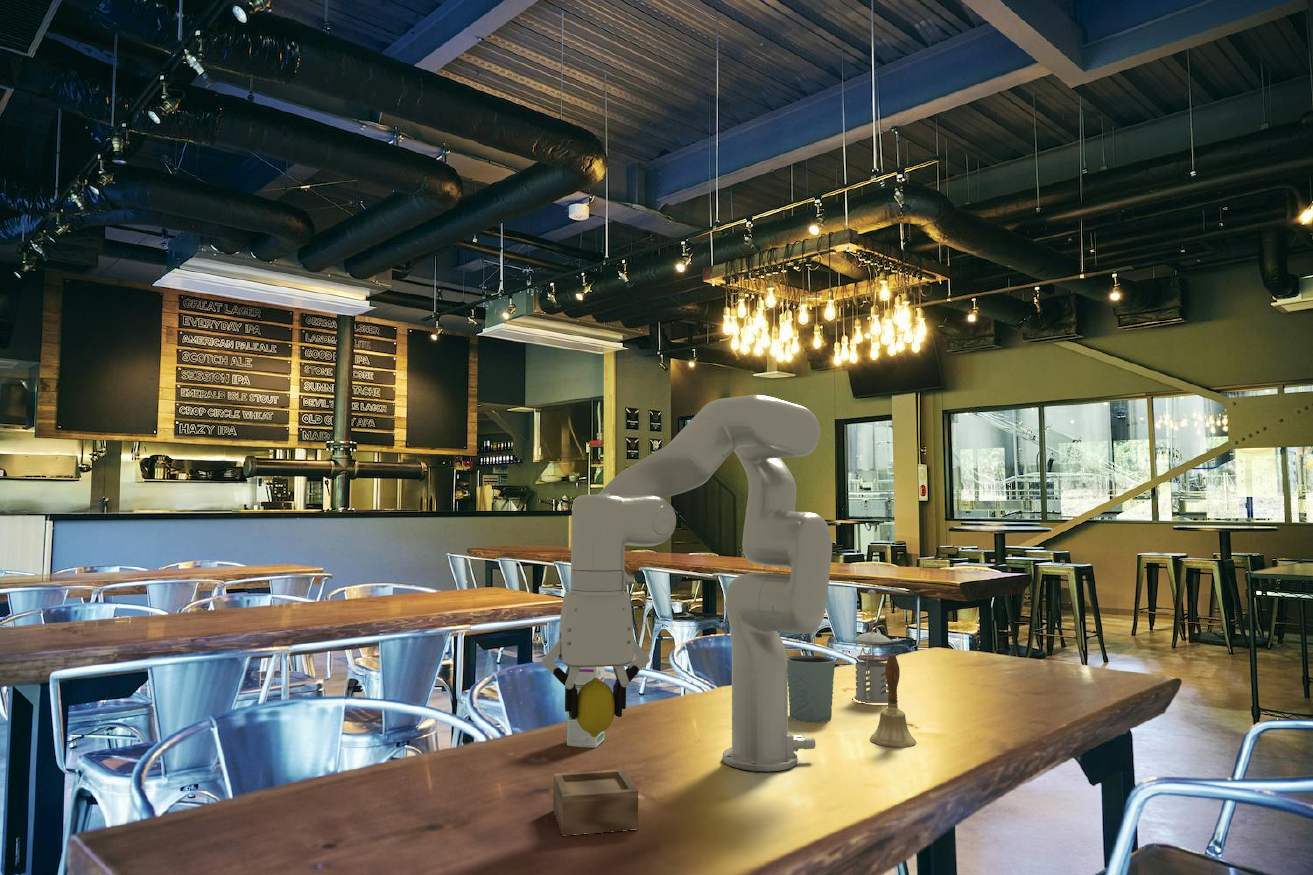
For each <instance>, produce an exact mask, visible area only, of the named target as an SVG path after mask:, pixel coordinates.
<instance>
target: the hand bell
mask: <svg viewBox="0 0 1313 875" xmlns="http://www.w3.org/2000/svg"><path fill="white" fill-rule="evenodd" d="M887 657H888V660H887V661H886V662H885V663H886V668H885V675H886V681H887V684H888V685H887V684H886V685H887V686H888V690H887V692H888V705H887V708H884V709H882V710H880V713H879V714H880V716H879V722H878V725H877V728H876V730H875V732H873V734H871V736H870V738H869V740H870V742H872V743H874V744H876V745H880V746H884V747H888V748H910V747H914V746H916V745H917V741H916V739H915V738H914V736H912V734H911V732H910V731H909V728H908V724H907V719H906V718H907V717H906V714H905V712H904V711H902V710H901V709H899V708H898V685H899V682H900V676H901V674H900V672H901V671H900V665H899V661H898V659H897V655H896V653H888V656H887Z"/></svg>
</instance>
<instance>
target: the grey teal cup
mask: <svg viewBox="0 0 1313 875" xmlns="http://www.w3.org/2000/svg"><path fill="white" fill-rule="evenodd" d="M787 664H788V668H787V681H788V706H789V717H790V718H791V717H792V718H794V719H796V720H795V721H798V720H800V721H799V722H803V721H805V722H806V723H824V722H823V721H825V722H828V721H827V720H829V721H831V719H832V714H833V712H832V711H833V709H832V706H833V700H834V698H833V694H834V692H833V690H834V678H835V677H834V676H835V668H836V666H835V665H836V659H835V658H831V657H827V656H822V655H821V656H820V655H804V654H803V655H790V656H787ZM792 718H791V719H792ZM794 719H793V720H794ZM805 722H804V723H805Z"/></svg>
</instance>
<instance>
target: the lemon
mask: <svg viewBox="0 0 1313 875" xmlns="http://www.w3.org/2000/svg"><path fill="white" fill-rule="evenodd" d="M615 716H616V715H615V700H614V695H613V689H612V688H611V687H610V686H609V685H608V684H607V683H606V682H605V683H604V682H602V681H600V680H599V679H598V678H593V680H592V681H589V682H587V683H586V684H584V685H583V686H582V687H581V689H580V690H579V692H578V695H577V718H576V720H577V722H578V724H579V725H580V727H581V728H582V729H583V730H584V731H586V732H588V733H589V734H590V735H591V736H592V737H597V736H598V735H599V734H600V733H601V732H603V731H605V732H606V730H608V728H610V726H611V724H612V723H613V721H614V719H615Z"/></svg>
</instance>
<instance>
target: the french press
mask: <svg viewBox="0 0 1313 875" xmlns="http://www.w3.org/2000/svg"><path fill="white" fill-rule="evenodd" d="M876 592H877V591H875V590H874V589H869V590H868V591H867V595H868V596H871V602H873V596H876V595H877V593H876ZM873 606H874V605H871V631H869V632H865V633H861V634H859V635H858V636H856V637H855V638H854V642H856V643H859V644H861V643H862V644H868V645H872V648H871V647H870V648H869V650H868V651H867V652H865V648H864V647H862V648H861V650H860V655H859V654H858V655H857V656H856V659H857V660H858V661H857V662H855V697H854V698H855V699H856V700H858V701H861V702H865V703H888V684H887V681H886V675H885V668H886V663H887V660H888V656H885V655H881V654H879V655H877V654H876V655H875V654H874V645H880V644H881V645H883V644H889V643H890V642H891V641H892V640H891V639H890V638H889V637H887V636H885V635H883V634H881V633H879V632H878V633H877V632H875V631H874V619H873V617H874V616H873V613H874V612H873V610H874V609H873ZM862 653H863V654H862ZM867 683H869V684H867ZM867 689H869V690H867Z"/></svg>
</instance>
